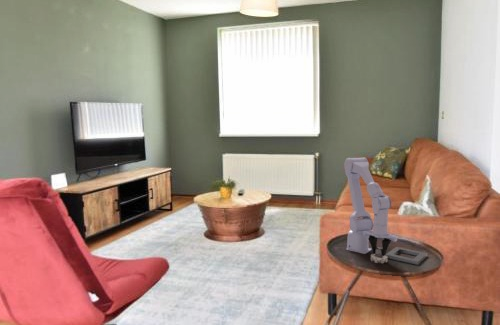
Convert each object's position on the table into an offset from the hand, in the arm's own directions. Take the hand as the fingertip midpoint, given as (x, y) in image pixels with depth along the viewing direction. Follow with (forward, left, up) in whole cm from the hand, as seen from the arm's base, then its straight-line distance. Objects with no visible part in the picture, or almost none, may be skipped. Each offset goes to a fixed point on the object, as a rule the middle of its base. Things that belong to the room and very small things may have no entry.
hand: (379, 254), depth 179 cm
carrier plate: (+8, +12, -3) cm, 15 cm away
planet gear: (0, 0, -3) cm, 3 cm away
